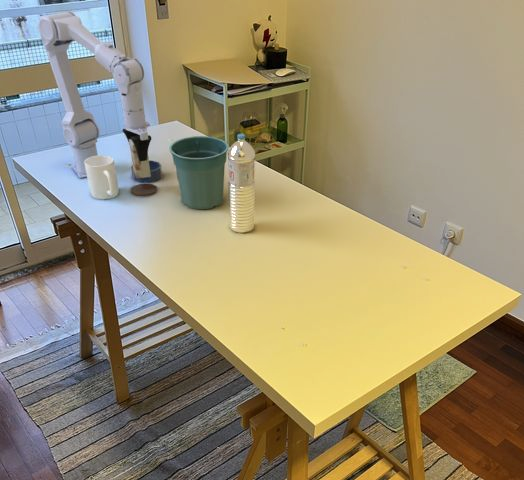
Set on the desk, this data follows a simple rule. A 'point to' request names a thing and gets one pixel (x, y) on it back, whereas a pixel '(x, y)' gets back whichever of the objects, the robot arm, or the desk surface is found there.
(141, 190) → the walnut coaster
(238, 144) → the water bottle
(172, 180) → the desk surface
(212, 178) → the flower pot
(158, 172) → the blue ring
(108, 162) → the cup
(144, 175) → the drug facts carton
